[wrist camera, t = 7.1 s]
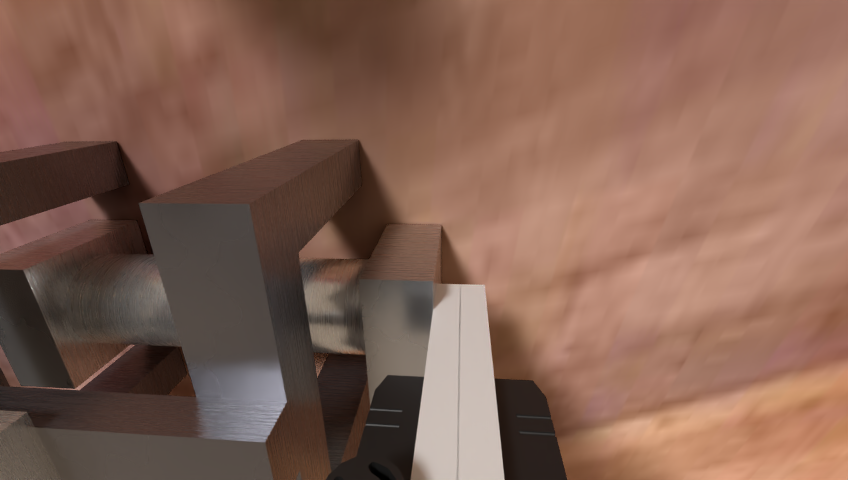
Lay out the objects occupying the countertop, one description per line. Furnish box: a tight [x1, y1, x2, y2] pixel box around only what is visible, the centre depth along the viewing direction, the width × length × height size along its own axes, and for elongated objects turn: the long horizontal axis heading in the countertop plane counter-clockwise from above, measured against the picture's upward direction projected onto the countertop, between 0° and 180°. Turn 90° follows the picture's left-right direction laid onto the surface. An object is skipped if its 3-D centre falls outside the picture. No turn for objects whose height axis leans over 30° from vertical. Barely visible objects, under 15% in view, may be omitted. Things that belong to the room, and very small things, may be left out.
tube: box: [0, 220, 441, 405], centre depth 14 cm, size 14×4×4 cm, turn 91°
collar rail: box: [0, 140, 371, 480], centre depth 12 cm, size 11×11×9 cm
